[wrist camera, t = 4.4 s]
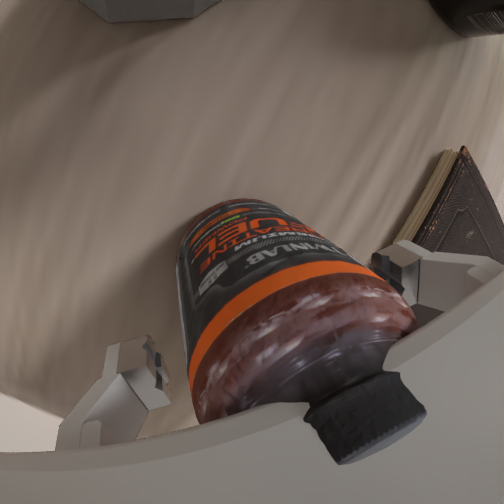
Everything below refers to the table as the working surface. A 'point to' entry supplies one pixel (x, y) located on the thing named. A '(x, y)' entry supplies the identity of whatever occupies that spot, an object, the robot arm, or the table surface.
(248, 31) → the table surface
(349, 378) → the supplement bottle
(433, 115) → the table surface
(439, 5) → the supplement bottle
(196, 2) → the coffeepot
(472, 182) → the hardcover book
